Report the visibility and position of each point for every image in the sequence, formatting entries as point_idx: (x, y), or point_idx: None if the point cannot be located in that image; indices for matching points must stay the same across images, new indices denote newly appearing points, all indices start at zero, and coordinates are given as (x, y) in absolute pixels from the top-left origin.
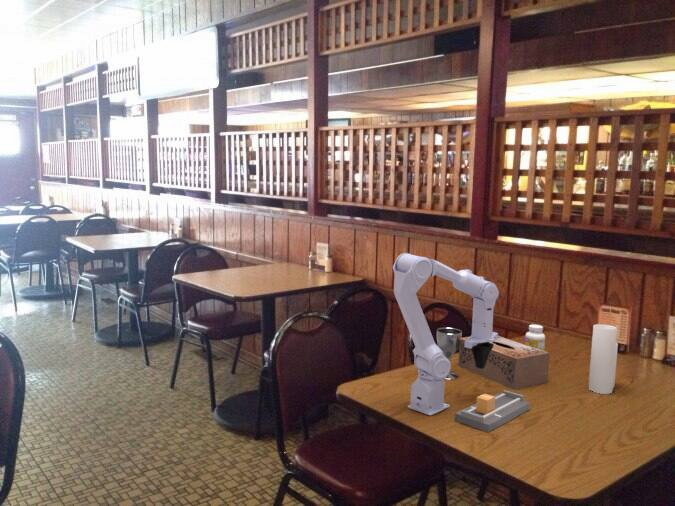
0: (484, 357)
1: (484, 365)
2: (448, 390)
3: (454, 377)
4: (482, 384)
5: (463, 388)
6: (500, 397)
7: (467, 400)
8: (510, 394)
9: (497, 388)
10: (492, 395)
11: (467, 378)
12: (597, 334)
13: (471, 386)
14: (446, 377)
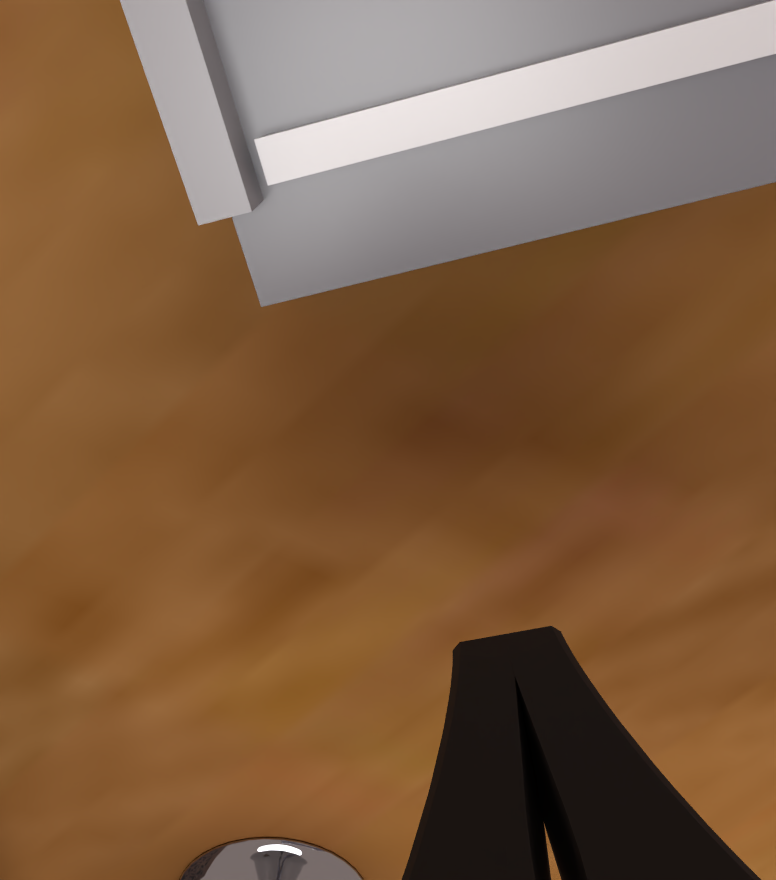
0: (655, 855)
1: (496, 671)
2: None
3: (257, 854)
4: (110, 661)
5: (370, 667)
6: (412, 98)
7: (601, 431)
8: (208, 63)
9: (26, 525)
10: (397, 273)
11: (147, 806)
12: None
13: (256, 670)
14: (327, 876)
